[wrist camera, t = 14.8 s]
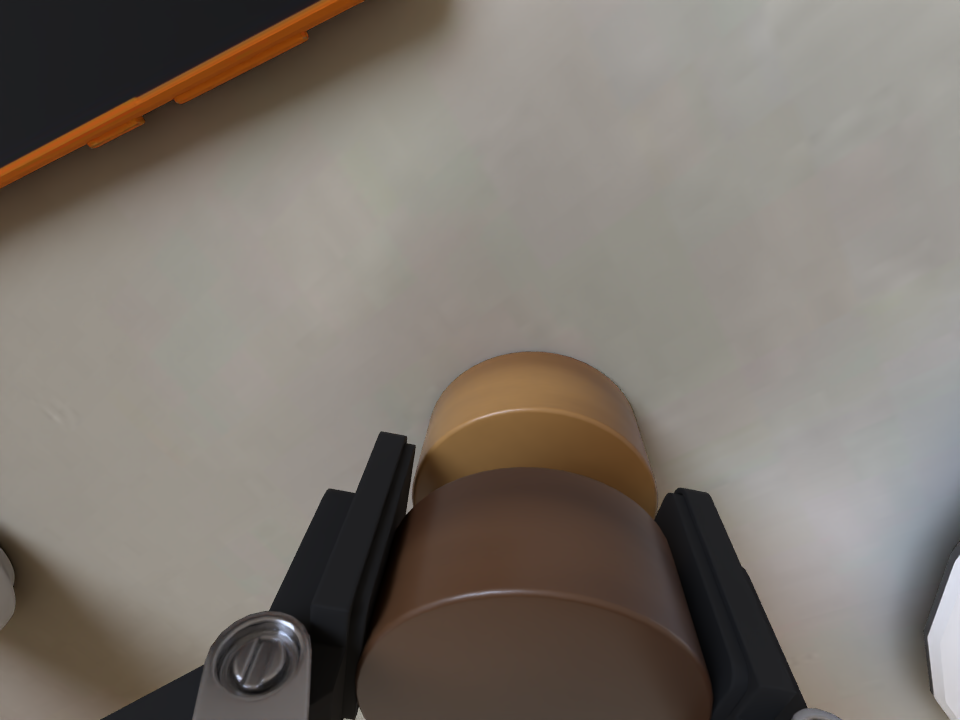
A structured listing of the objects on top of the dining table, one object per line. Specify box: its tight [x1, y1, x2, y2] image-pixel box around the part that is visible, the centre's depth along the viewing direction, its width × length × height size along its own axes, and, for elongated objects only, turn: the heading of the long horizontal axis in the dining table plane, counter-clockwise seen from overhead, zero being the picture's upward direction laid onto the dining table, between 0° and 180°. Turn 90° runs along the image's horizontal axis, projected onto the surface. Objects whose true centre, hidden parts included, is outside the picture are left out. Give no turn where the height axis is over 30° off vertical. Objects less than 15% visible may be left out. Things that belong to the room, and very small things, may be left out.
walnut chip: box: [355, 467, 714, 720], centre depth 9 cm, size 5×5×2 cm
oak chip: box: [412, 352, 658, 520], centre depth 12 cm, size 5×5×2 cm
